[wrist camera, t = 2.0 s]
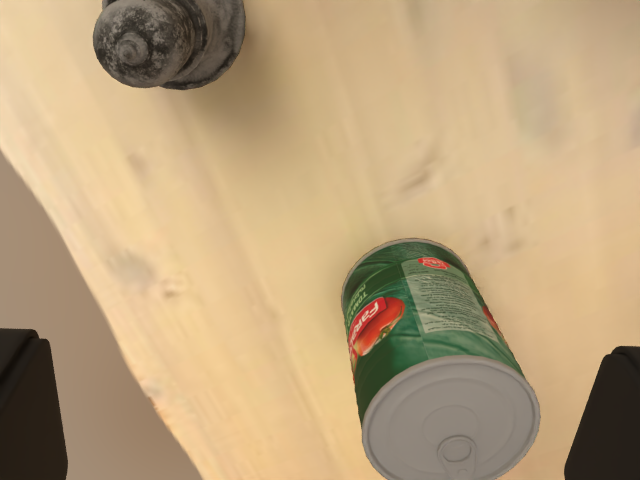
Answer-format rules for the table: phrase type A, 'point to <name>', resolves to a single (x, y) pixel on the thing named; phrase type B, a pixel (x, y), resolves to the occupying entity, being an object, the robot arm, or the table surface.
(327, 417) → the table surface
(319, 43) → the table surface
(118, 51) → the salt shaker
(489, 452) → the canned tomato
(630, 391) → the robot arm
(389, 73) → the table surface
